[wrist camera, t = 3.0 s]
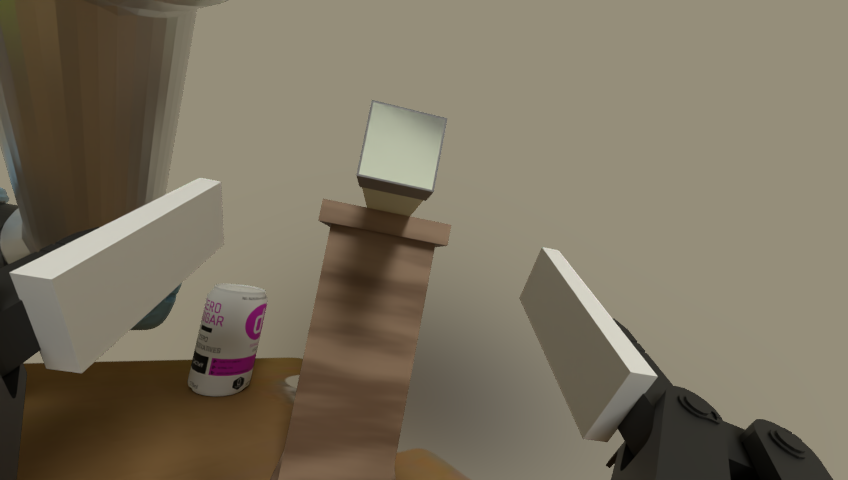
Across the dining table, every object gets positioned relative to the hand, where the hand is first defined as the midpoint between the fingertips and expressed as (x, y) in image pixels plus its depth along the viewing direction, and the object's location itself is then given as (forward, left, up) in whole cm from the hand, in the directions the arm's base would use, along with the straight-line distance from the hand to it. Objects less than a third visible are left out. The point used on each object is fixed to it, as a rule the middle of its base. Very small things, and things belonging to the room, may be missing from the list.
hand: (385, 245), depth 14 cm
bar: (-13, +13, +4) cm, 19 cm away
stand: (-19, +19, -24) cm, 36 cm away
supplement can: (-43, +15, -25) cm, 52 cm away
